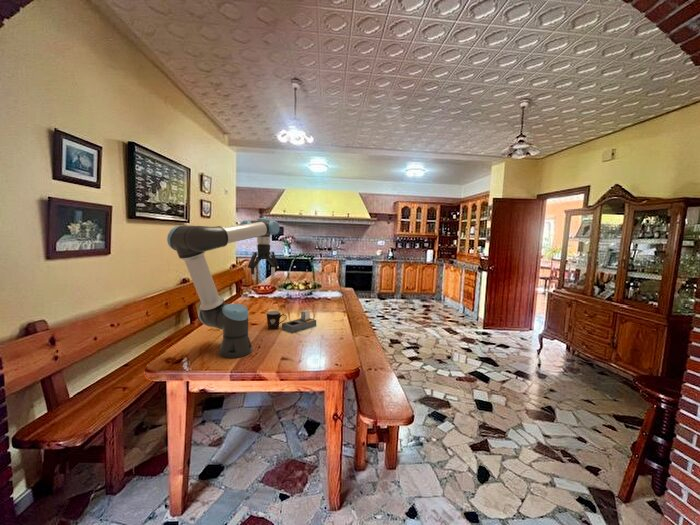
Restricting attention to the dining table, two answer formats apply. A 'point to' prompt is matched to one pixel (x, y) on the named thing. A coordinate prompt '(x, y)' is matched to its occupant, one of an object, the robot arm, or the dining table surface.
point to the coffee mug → (274, 319)
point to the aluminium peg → (305, 315)
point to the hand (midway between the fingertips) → (263, 278)
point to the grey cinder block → (298, 325)
